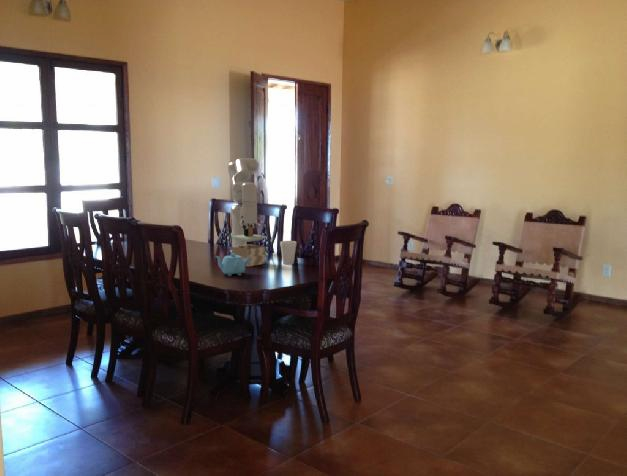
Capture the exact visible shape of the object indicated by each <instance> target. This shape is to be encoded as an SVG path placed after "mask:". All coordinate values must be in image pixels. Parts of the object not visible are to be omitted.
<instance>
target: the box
mask: <svg viewBox="0 0 627 476" xmlns="http://www.w3.org/2000/svg"><path fill="white" fill-rule="evenodd" d="M231 250H232V253H234V254H235V255H238V256H241V257H242V259H243V261H245V260H246V259H247V258H248V257H249V258H250V259H251V260H250V261H249V262H248V264H247V265H246V266H245V267H253V266H258V265H264V264H266V263H267V261H266V260H267V259H266V258H267V257H266V255H267V248H266V246H263V245H256V244H251V243H250V244H247V245H241V246H234V247H232V246H231ZM232 253H231V254H232Z"/></svg>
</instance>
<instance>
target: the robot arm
mask: <svg viewBox="0 0 627 476" xmlns="http://www.w3.org/2000/svg"><path fill="white" fill-rule="evenodd" d="M258 167H259V163H258V161H257V159H256V158H254V157H253V158H251V157H246V158H245V157H239V158H237V159H236V160H235V161H230V162H229V163H228V165H227V169H228V173H229V178H230V180H231V182H230V185H231V190H232V191H231V192H232V193H231V197H232V201H233V202H234V203H237V204H235V205H232V206H231V207H230V218H231V236H236V235H244V236H248V226H249V227H253V235H255V233H254V232H255V231H254V229H255V228H256V226H257V224H258V216H257V215H258V201H257V200H258V199H257V198H258V197H257V185H256V184H255V183H254V182H251V181H250V182H246V181H248V180H249V179H250V178H251V175H255V174H256V172H258V169H259V168H258ZM238 203H239V204H238ZM231 239H232V240H231V244H232V245H231V248H232V247H234V246H241V245H248V244H247V242H246V241H240V240H236V239H233V238H231ZM229 253H230V254H232V249H230V250H229Z"/></svg>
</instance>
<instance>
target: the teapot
mask: <svg viewBox="0 0 627 476" xmlns="http://www.w3.org/2000/svg"><path fill="white" fill-rule="evenodd" d="M214 257H215V258H217V264H218V267H219V268H220V269H221V271H222V272H223V273H224V275H227V277H232V276H233V274H237V276H243V275H242V273H245V270H246V267H247V266H246V265H247V264H248V262H249V261H250V260H251V259H250V258H249V257H248V258H247V259H246V260H245V261H243V259H242V257H241V256H238V255H235V254H234V253H230V255H225V256H224V257H223V258H222V261H221V258H220V256H218V255H215V256H214Z"/></svg>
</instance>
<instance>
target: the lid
mask: <svg viewBox="0 0 627 476" xmlns="http://www.w3.org/2000/svg"><path fill="white" fill-rule="evenodd" d="M230 238H231V239H232V238H233V239H236V240H240V241H246V242H248V243H250V242H257V241H262V240H263V239H267V236H266V235H261V234H254V235H253V227H250V225H248V236H244V235H236V236H232V235H231V236H230Z"/></svg>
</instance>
